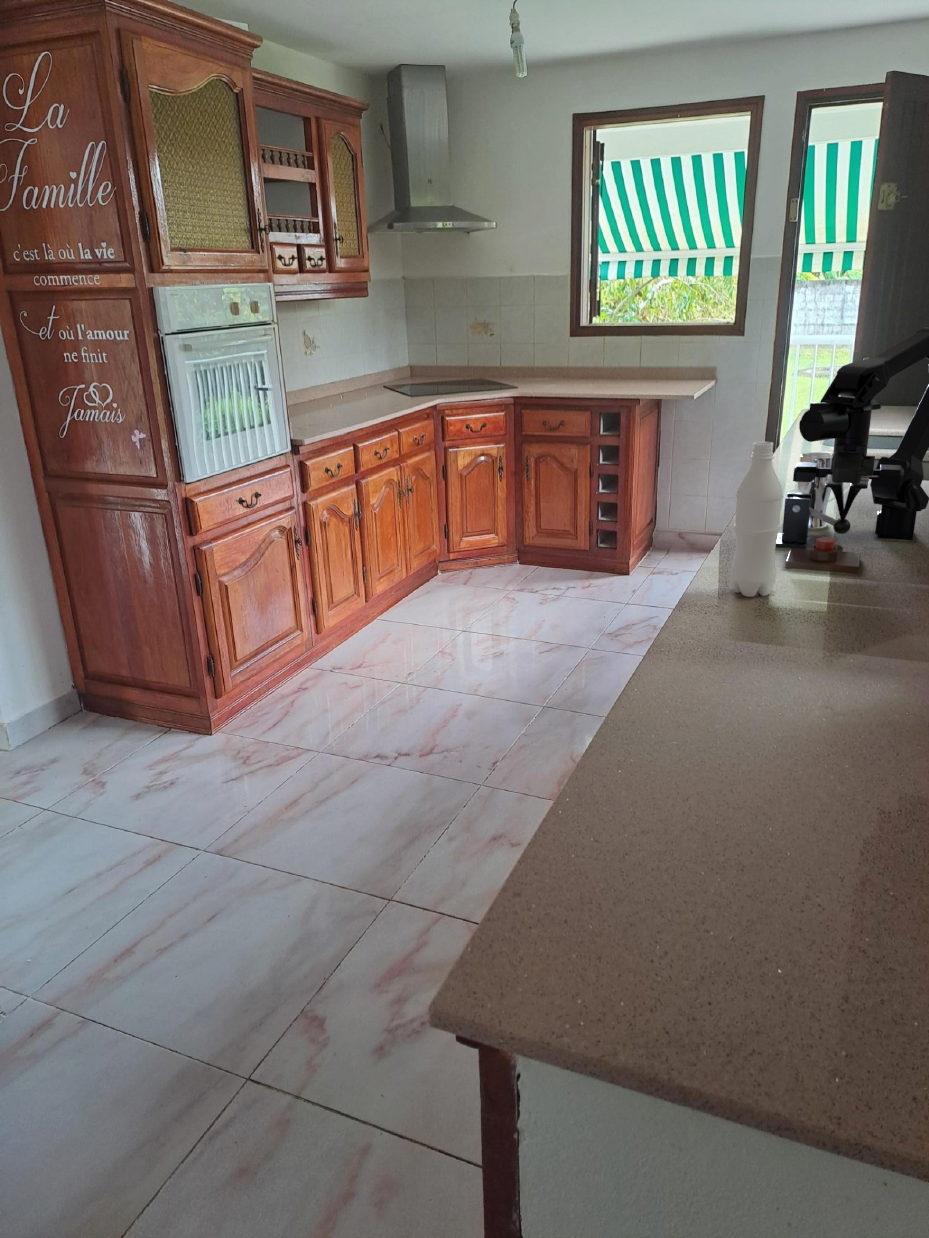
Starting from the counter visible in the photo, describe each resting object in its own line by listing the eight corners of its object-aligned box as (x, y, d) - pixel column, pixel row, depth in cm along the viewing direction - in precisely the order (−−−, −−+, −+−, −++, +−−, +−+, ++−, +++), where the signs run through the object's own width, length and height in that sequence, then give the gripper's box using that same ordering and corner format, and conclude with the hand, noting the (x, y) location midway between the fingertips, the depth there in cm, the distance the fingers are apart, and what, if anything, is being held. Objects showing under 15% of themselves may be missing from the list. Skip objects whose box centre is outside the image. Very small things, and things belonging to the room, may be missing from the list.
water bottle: (776, 600, 144) (790, 447, 135) (731, 598, 145) (741, 447, 137) (771, 586, 150) (784, 439, 142) (728, 585, 152) (737, 439, 143)
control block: (859, 561, 161) (861, 543, 160) (858, 576, 153) (860, 556, 152) (790, 556, 166) (791, 538, 165) (785, 570, 158) (787, 551, 157)
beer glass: (823, 522, 187) (830, 451, 182) (832, 530, 181) (840, 458, 176) (789, 522, 188) (795, 452, 183) (797, 531, 182) (804, 458, 176)
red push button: (834, 547, 159) (835, 538, 159) (833, 552, 157) (834, 542, 156) (815, 546, 161) (816, 537, 160) (814, 551, 158) (815, 541, 157)
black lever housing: (825, 541, 174) (830, 492, 170) (822, 552, 167) (828, 502, 164) (767, 537, 178) (771, 490, 175) (762, 548, 171) (766, 499, 168)
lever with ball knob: (845, 534, 169) (853, 521, 168) (844, 538, 167) (853, 524, 165) (787, 506, 172) (795, 493, 171) (786, 510, 170) (794, 496, 168)
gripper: (794, 442, 159) (786, 526, 164) (908, 444, 151) (897, 532, 157) (799, 432, 168) (792, 512, 174) (907, 434, 161) (897, 517, 166)
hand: (842, 518), depth 167 cm, fingers closed, pressing on lever with ball knob
